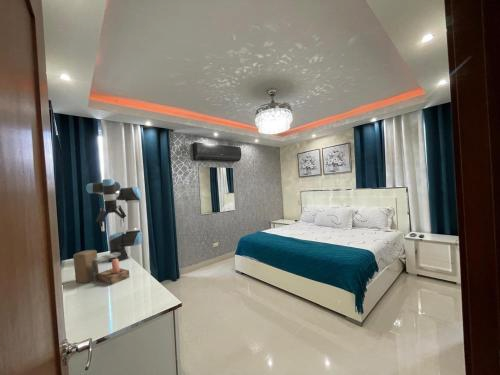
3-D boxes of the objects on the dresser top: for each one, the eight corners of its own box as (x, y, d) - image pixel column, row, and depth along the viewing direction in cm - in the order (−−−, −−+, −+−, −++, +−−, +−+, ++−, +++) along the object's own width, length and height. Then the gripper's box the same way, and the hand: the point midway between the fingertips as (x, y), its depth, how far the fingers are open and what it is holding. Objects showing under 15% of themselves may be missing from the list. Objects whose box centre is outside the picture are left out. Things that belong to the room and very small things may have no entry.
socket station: (116, 272, 167) (115, 252, 166) (132, 276, 157) (130, 254, 157) (93, 281, 153) (91, 259, 152) (108, 286, 143) (106, 262, 143)
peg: (118, 278, 156) (116, 258, 155) (121, 279, 154) (119, 259, 153) (112, 280, 152) (110, 260, 152) (115, 281, 150) (113, 261, 150)
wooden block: (87, 283, 151) (84, 254, 150) (75, 282, 153) (72, 254, 152) (99, 276, 160) (97, 249, 160) (88, 276, 162) (85, 249, 162)
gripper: (123, 198, 174) (126, 224, 175) (88, 202, 152) (91, 232, 153) (129, 198, 171) (132, 225, 171) (94, 202, 149) (97, 233, 150)
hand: (112, 228), depth 162 cm, fingers open, 13 cm apart
